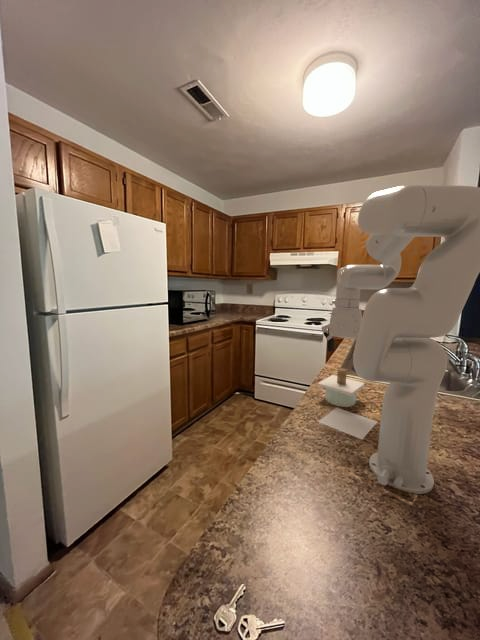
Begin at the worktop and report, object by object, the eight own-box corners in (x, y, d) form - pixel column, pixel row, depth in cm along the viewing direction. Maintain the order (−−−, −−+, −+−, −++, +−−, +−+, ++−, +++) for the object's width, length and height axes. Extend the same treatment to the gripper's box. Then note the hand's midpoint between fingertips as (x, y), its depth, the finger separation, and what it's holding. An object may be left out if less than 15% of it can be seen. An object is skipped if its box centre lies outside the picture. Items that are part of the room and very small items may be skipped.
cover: (351, 396, 87) (353, 378, 86) (317, 385, 95) (318, 369, 94) (364, 385, 96) (366, 369, 95) (332, 377, 104) (333, 362, 103)
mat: (362, 441, 73) (362, 439, 73) (317, 423, 82) (318, 421, 81) (377, 423, 82) (377, 421, 82) (336, 409, 91) (336, 407, 91)
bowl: (348, 411, 90) (349, 394, 89) (320, 401, 96) (321, 385, 95) (359, 401, 97) (360, 385, 96) (332, 393, 104) (333, 378, 103)
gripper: (318, 303, 94) (316, 350, 96) (370, 306, 82) (366, 360, 84) (328, 302, 100) (325, 347, 102) (378, 305, 88) (374, 356, 90)
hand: (344, 353), depth 93 cm, fingers open, 9 cm apart
